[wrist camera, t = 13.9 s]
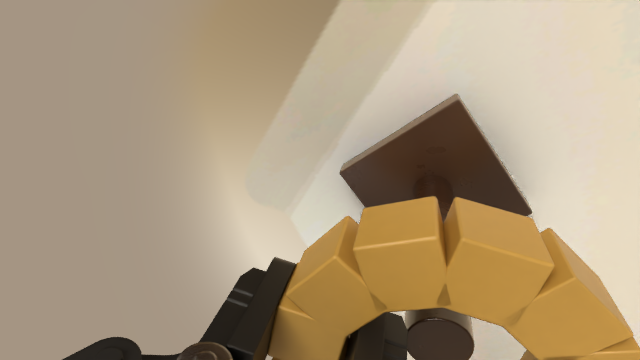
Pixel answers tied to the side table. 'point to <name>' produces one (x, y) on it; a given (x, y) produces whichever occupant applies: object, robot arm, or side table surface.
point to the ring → (448, 283)
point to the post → (445, 184)
